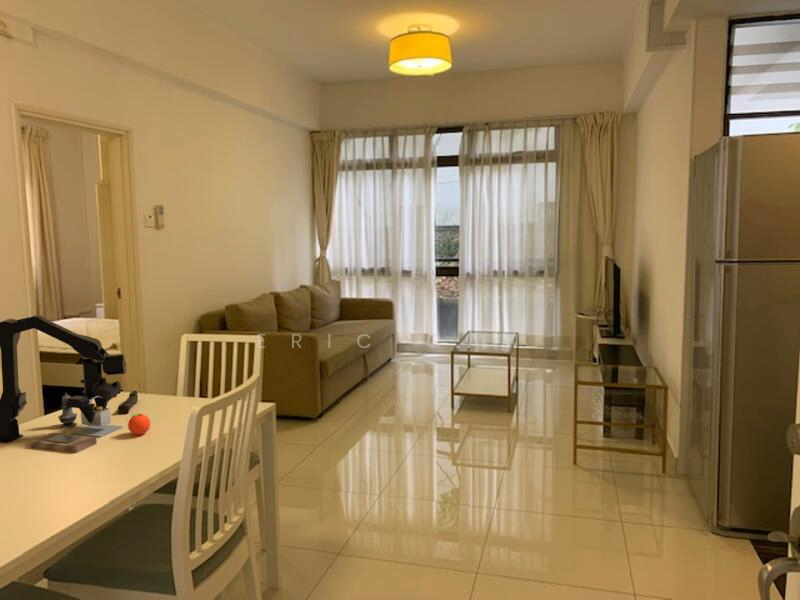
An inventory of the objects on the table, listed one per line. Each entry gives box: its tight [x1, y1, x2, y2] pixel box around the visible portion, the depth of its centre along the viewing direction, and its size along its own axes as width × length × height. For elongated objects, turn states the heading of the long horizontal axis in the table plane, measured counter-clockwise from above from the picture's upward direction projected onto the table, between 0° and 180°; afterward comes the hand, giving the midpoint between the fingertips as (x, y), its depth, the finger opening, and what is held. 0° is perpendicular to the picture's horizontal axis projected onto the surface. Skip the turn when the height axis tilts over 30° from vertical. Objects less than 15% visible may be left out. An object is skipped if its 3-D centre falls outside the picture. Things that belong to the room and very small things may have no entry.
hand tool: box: [117, 390, 139, 415], centre depth 230 cm, size 19×4×5 cm, turn 7°
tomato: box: [125, 413, 151, 436], centre depth 200 cm, size 8×7×7 cm
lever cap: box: [80, 405, 112, 427], centre depth 202 cm, size 8×4×6 cm, turn 75°
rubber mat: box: [70, 424, 123, 438], centre depth 203 cm, size 12×10×1 cm
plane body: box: [30, 432, 97, 454], centre depth 190 cm, size 18×8×2 cm, turn 75°
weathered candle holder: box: [58, 392, 78, 429], centre depth 208 cm, size 6×6×12 cm
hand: (95, 420), depth 203 cm, fingers closed on lever cap, 4 cm apart
